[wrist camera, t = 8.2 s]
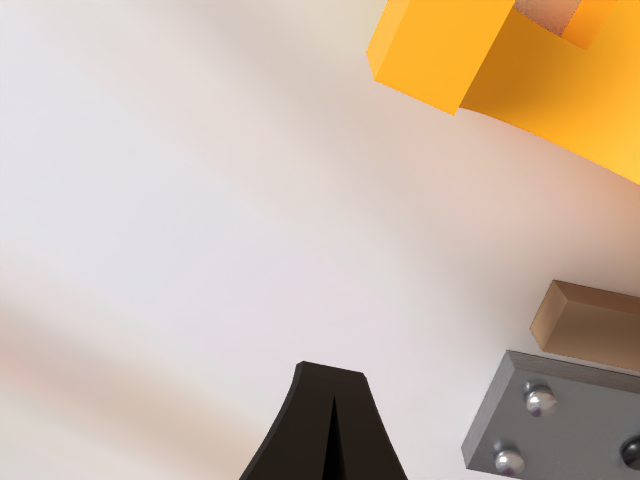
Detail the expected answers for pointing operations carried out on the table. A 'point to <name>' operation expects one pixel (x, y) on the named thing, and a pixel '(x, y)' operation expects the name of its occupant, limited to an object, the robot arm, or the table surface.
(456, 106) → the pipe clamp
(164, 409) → the table surface
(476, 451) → the strip
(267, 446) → the robot arm
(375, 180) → the table surface
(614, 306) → the trammel bar
